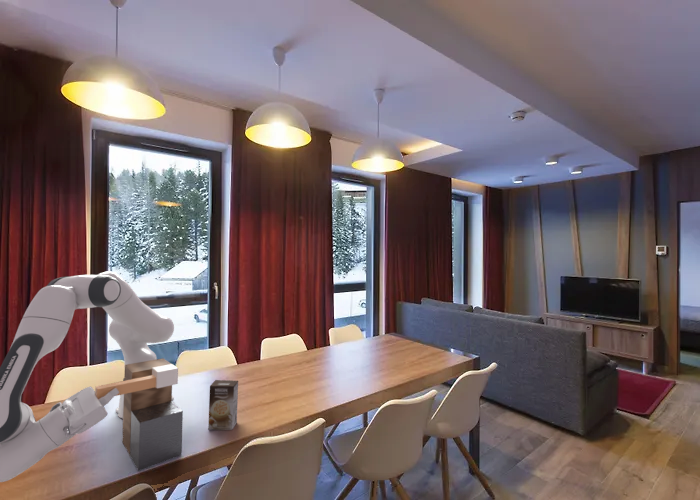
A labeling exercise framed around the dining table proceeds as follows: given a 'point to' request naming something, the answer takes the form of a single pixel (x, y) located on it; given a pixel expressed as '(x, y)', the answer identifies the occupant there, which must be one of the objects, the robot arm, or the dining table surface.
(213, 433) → the dining table surface
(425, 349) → the dining table surface
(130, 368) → the tall wood-grain pillar
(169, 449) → the block
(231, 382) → the coffee box
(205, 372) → the dining table surface
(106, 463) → the dining table surface
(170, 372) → the wooden handled mallet
